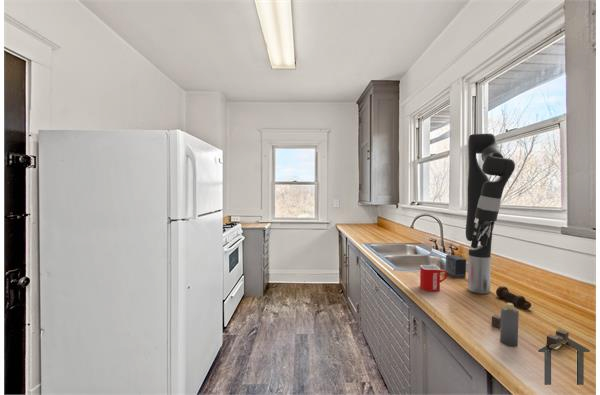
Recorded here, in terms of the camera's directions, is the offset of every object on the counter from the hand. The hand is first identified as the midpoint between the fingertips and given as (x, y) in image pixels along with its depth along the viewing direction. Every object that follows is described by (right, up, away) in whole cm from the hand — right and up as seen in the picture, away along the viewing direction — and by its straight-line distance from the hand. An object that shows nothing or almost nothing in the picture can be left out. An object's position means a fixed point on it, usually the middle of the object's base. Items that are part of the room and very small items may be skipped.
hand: (478, 246), depth 126 cm
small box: (+15, -24, +49) cm, 57 cm away
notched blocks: (+7, -27, -18) cm, 33 cm away
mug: (-6, -25, +28) cm, 38 cm away
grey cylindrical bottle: (-4, -28, -24) cm, 37 cm away
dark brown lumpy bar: (+21, -27, +9) cm, 35 cm away
